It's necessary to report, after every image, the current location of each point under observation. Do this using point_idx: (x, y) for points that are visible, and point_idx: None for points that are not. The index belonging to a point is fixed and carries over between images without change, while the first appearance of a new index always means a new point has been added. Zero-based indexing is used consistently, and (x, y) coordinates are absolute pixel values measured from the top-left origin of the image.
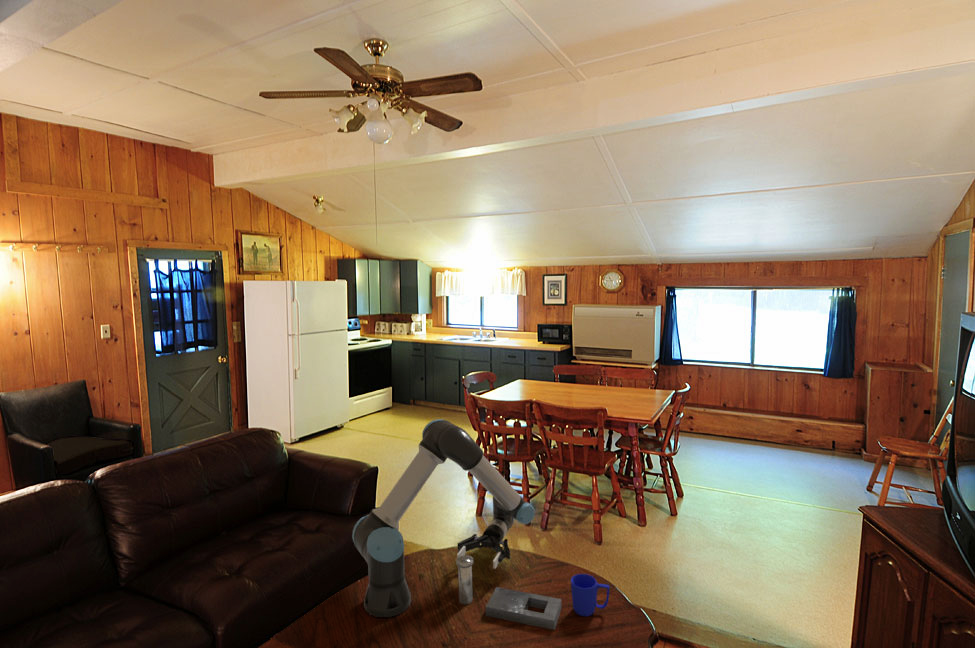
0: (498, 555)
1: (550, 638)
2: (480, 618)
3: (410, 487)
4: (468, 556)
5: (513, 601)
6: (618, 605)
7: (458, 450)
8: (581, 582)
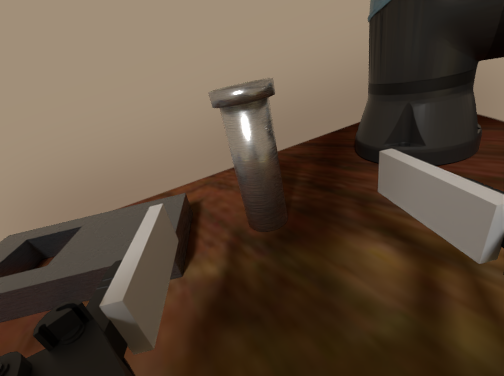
0: (127, 253)
1: None
2: (202, 204)
3: None
4: (238, 87)
5: (108, 232)
6: None
7: None
8: None
